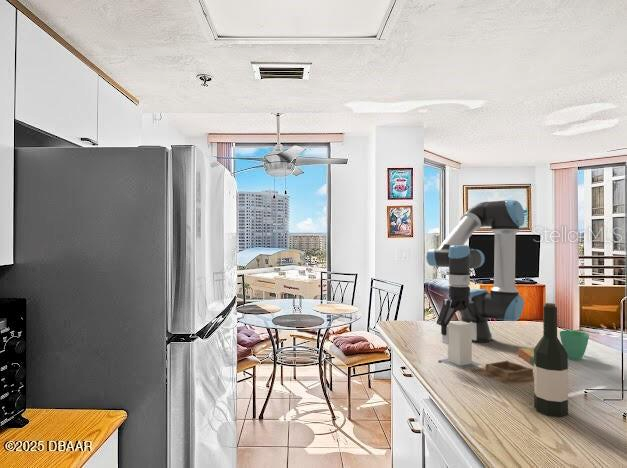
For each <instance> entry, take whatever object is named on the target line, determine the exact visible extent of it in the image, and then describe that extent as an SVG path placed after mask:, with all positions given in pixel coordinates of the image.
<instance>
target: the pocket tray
mask: <svg viewBox="0 0 627 468" xmlns="http://www.w3.org/2000/svg"><path fill="white" fill-rule="evenodd" d="M470 371H472V372H474V373H477V374H479V375H483V376H484V377H487V378H489V379H492V380H494V381H497V382H499V383H502V384H505V385H508V386H510V387H512V388H513V387H517V386H521V385H526V384H530V383H534V368H532V367H528V366H525V365H523V364H519V363H516V362H513V361H510V360H502V361H501V360H500V361H496V362H492V363H491V362H490V363H486V364H485V366H483V367H477V368H472V369H470Z"/></svg>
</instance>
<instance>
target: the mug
mask: <svg viewBox="0 0 627 468" xmlns="http://www.w3.org/2000/svg"><path fill="white" fill-rule="evenodd" d="M589 336H590V334H588V333H586V332H585V331H584V332H583V331H580V330H579V331H578V330H577V331H576V330H573V329H568V330H560V331H559V337H560V343H561V344H562V346H563V347H564V349H565V350H566V352H567V354H568V360H572V361H582V360H583V357H584V356H585V353H586V350H587V347H588V343H589V339H590V337H589Z"/></svg>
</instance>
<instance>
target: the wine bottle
mask: <svg viewBox="0 0 627 468" xmlns="http://www.w3.org/2000/svg"><path fill="white" fill-rule="evenodd" d="M542 311H543V312H542V316H543V322H542V323H543V324H542V325H543V326H542V328H543V332H542V333H543V335H542V337H540V338H541V339H540V340H539V341H538V343H537V344H536V345H535V346H534V348H533V349H534V367H533V372H534V382H533V389H534V390H533V391H534V392H533V393H534V397H533V398H534V403H533V404H534V405H533V406H534V408H535V411H536V412H537V413H540V414H542V415H545V416H548V417H554V418H555V417H556V418H563V417H566V416H568V415H569V368H568V366H569V359H568V354H567V352H566V350H565V349H564V347H563V346H562V342H561V340H560V339H559V337H558V307H557V306H556V304H555V303H551V302H545V303H544V306H542Z"/></svg>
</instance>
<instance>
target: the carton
mask: <svg viewBox="0 0 627 468" xmlns="http://www.w3.org/2000/svg"><path fill="white" fill-rule="evenodd" d="M518 358H521V359H522V360H523V361H525V362H526V363H528V364H529V365H531V366H532V367H533V368H534V348H518Z"/></svg>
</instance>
